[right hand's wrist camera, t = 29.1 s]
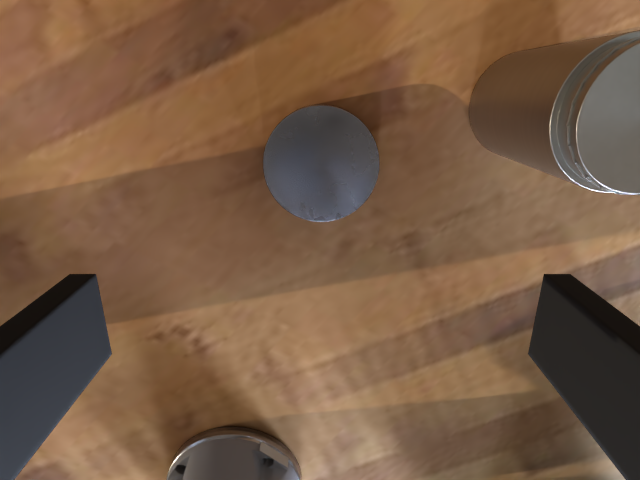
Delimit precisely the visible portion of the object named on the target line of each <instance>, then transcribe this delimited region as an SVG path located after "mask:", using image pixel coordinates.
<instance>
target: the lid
mask: <svg viewBox="0 0 640 480" xmlns="http://www.w3.org/2000/svg"><path fill="white" fill-rule="evenodd" d="M263 170H264V177H265V180H266V183H267V186H268V188H269V190H270V192H271V194H272V195H273V197H274V198H275V199H276V201H277V202H278V203H279V204H280V205H281V206H282V207H283V208H284V209H286V210H287V211H288V212H290V213H291V214H293V215H295V216H297V217H300V218H302V219H305V220H309V221H316V222H326V221H333V220H337V219H340V218H343V217H345V216H347V215H349V214H351V213H353V212H354V211H355V210H357V209H358V208H359V207H360V206H361V205H363V203H364V202H365V201H366V200H367V199H368V197H369V196H370V194H371V193H372V191H373V189H374V187H375V184H376V181H377V178H378V173H379V154H378V149H377V146H376V143H375V140H374V138H373V136H372V134H371V133H370V131H369V130H368V128H367V127H366V126H365V125H364V124H363V122H362V121H360V120H359V119H358V118H357V117H356V116H355V115H353V114H352V113H350V112H348V111H346V110H344V109H342V108H340V107H336V106H332V105H326V104H317V105H310V106H306V107H303V108H300V109H298V110H296V111H294V112H292V113H291V114H289V115H288V116H287V117H285V118H284V119H283V120H282V121H281V122H280V123H279V124H278V125H277V126H276V128H275V129H274V130H273V132H272V133H271V135H270V137H269V139H268V141H267V144H266V147H265V151H264V157H263Z"/></svg>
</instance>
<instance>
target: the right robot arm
mask: <svg viewBox="0 0 640 480" xmlns="http://www.w3.org/2000/svg"><path fill="white" fill-rule="evenodd" d="M111 354H112V352H111V347H110V342H109V337H108V332H107V327H106V322H105V317H104V312H103V307H102V302H101V297H100V292H99V287H98V282H97V277H96V274H69V275H68V276H67V277H65V278H64V279H63V280H61V281H60V282H59V283H57V284H56V285H55V286H53V287H52V288H51V289H49V290H48V291H47V292H45V293H44V294H43V295H42V296H40V297H39V298H38V299H36V300H35V301H34V302H32V303H31V304H30V305H28V306H27V307H26V308H24V309H23V310H22V311H20V312H19V313H18V314H16V315H15V316H14V317H12V318H11V319H10V320H8V321H7V322H6V323H4V324H3V325H2V326H0V480H14V479H15V478H16V477H17V475H18V474H19V473H20V471H21V470H22V469H23V468H24V466H25V465H26V464H27V462H28V461H29V460H30V459H31V457H32V456H33V455H34V453H35V452H36V451H37V450H38V448H39V447H40V446H41V444H42V443H43V442H44V441H45V439H46V438H47V437H48V435H49V434H50V433H51V432H52V430H53V429H54V428H55V426H56V425H57V424H58V423H59V421H60V420H61V419H62V417H63V416H64V415H65V414H66V412H67V411H68V410H69V408H70V407H71V406H72V405H73V403H74V402H75V401H76V399H77V398H78V397H79V396H80V394H81V393H82V392H83V390H84V389H85V388H86V387H87V385H88V384H89V383H90V381H91V380H92V379H93V378H94V376H95V375H96V374H97V372H98V371H99V370H100V369H101V367H102V366H103V365H104V363H105V362H106V361H107V360H108V358H109V357H110V356H111ZM528 354H529V356H530V357H531V358H532V360H533V361H534V362H535V363H536V365H537V366H538V367H539V369H540V370H541V371H542V372H543V374H544V375H545V376H546V378H547V379H548V380H549V381H550V383H551V384H552V385H553V387H554V388H555V389H556V390H557V392H558V393H559V394H560V396H561V397H562V398H563V399H564V401H565V402H566V403H567V405H568V406H569V407H570V408H571V410H572V411H573V412H574V414H575V415H576V416H577V417H578V419H579V420H580V421H581V423H582V424H583V425H584V426H585V428H586V429H587V430H588V432H589V433H590V434H591V435H592V437H593V438H594V439H595V441H596V442H597V443H598V444H599V446H600V447H601V448H602V450H603V451H604V452H605V453H606V455H607V456H608V457H609V459H610V460H611V461H612V462H613V464H614V465H615V466H616V468H617V469H618V470H619V471H620V473H621V474H622V475H623V477H624V478H625V479H626V480H640V326H638V325H637V324H636V323H634V322H633V321H632V320H630V319H629V318H628V317H626V316H625V315H624V314H622V313H621V312H620V311H618V310H617V309H616V308H614V307H613V306H612V305H610V304H609V303H608V302H606V301H605V300H604V299H602V298H601V297H600V296H598V295H597V294H596V293H595V292H593V291H592V290H591V289H589V288H588V287H587V286H585V285H584V284H583V283H581V282H580V281H579V280H577V279H576V278H575V277H573V276H572V275H571V274H544V277H543V282H542V287H541V292H540V297H539V302H538V307H537V312H536V317H535V322H534V327H533V332H532V337H531V342H530V347H529V352H528ZM301 478H302V477H301V471H300V467H299V464H298V462H297V460H296V458H295V457H294V455H293V454H292V453H291V451H290V450H289V449H288V448H287V447H286V446H285V445H284V444H282V443H281V442H280V441H278V440H277V439H275V438H273V437H272V436H270V435H268V434H265V433H263V432H260V431H257V430H253V429H249V428H243V427H221V428H215V429H211V430H207V431H204V432H202V433H199V434H197V435H196V436H194V437H192V438H191V439H189V440H188V441H187V442H185V443H184V444H183V445H182V446H181V447H180V449H179V450H178V451H177V453H176V455H175V457H174V459H173V461H172V464H171V466H170V469H169V472H168V475H167V480H301Z"/></svg>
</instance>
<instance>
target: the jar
mask: <svg viewBox="0 0 640 480" xmlns="http://www.w3.org/2000/svg"><path fill="white" fill-rule="evenodd" d="M469 119H470V124H471V128H472V131H473V133H474V135H475V136H476V138H477V139H478V141H479V142H480V143H481V144H482V145H483V146H484V147H485V148H486V149H488V150H490V151H491V152H493V153H496V154H498V155H501V156H503V157H506V158H509V159H511V160H514V161H516V162H519V163H522V164H524V165H527V166H529V167H532V168H535V169H537V170H540V171H542V172H545V173H548V174H550V175H553V176H556V177H558V178H561V179H563V180H566V181H569V182H571V183H574V184H576V185H579V186H582V187H584V188H587V189H589V190H593V191H598V192H607V193H611V192H613V193H616V194H634V195H640V30H639V31H633V32H628V33H622V34H616V35H610V36H605V37H599V38H593V39H587V40H582V41H576V42H570V43H565V44H559V45H553V46H547V47H542V48H536V49H530V50H524V51H519V52H514V53H511V54H509V55H506V56H504V57H502V58H501V59H499V60H497V61H496V62H495V63H493V64H492V65H491V66H490V67H489V68H488V69H487V70H486V71H485V72H484V73H483V74H482V76H481V77H480V79H479V80H478V82H477V83H476V86H475V88H474V90H473V93H472V96H471V99H470V105H469Z"/></svg>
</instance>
